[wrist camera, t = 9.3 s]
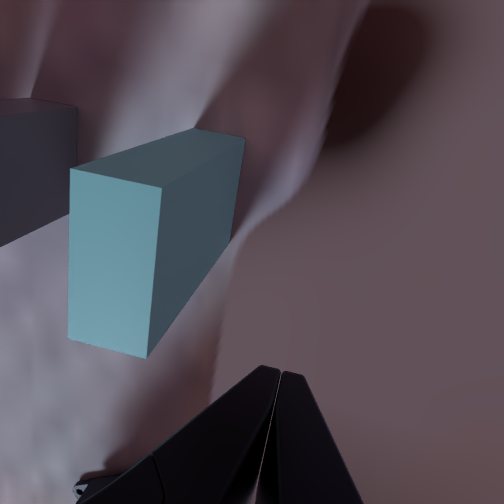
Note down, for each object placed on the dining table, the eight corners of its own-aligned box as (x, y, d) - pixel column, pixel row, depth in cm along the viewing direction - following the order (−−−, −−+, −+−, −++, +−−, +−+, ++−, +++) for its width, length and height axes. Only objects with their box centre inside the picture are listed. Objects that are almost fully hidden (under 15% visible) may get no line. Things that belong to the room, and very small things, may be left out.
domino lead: (245, 138, 20) (162, 188, 11) (229, 243, 22) (146, 359, 13) (193, 128, 21) (70, 168, 11) (181, 232, 23) (67, 338, 13)
